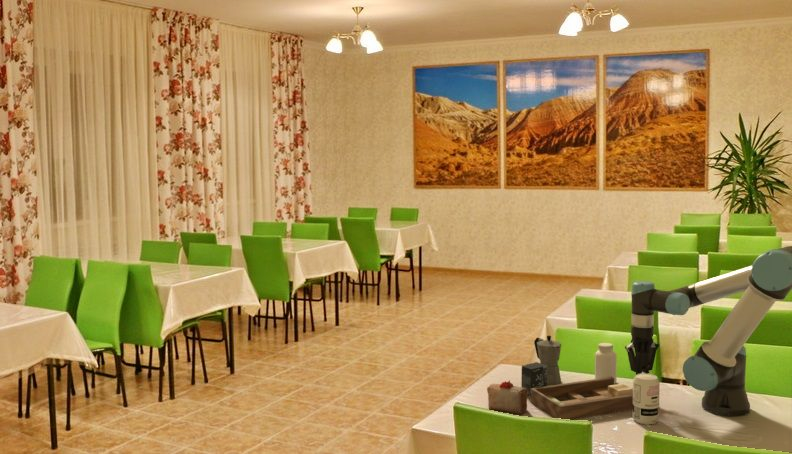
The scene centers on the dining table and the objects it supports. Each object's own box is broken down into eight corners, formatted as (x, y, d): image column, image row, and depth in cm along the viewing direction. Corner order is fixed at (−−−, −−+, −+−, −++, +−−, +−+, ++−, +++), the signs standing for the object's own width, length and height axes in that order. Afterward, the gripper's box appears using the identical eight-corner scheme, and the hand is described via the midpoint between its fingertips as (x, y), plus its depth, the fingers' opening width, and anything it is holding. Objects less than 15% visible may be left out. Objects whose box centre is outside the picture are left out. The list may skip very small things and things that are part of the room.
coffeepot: (569, 383, 282) (569, 337, 280) (549, 387, 278) (549, 341, 276) (544, 373, 295) (544, 329, 293) (525, 376, 291) (525, 332, 289)
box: (531, 397, 268) (531, 369, 267) (521, 393, 272) (520, 365, 271) (547, 392, 272) (547, 365, 271) (536, 388, 277) (536, 361, 276)
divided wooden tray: (646, 407, 255) (646, 393, 254) (560, 421, 244) (560, 406, 243) (611, 389, 274) (611, 376, 273) (530, 402, 263) (530, 388, 262)
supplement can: (638, 414, 249) (638, 371, 247) (662, 419, 243) (663, 375, 242) (628, 421, 242) (629, 377, 241) (653, 427, 237) (654, 382, 236)
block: (632, 399, 257) (632, 388, 257) (618, 402, 255) (618, 390, 255) (622, 394, 263) (622, 383, 262) (607, 396, 261) (607, 385, 260)
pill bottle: (590, 380, 285) (591, 342, 283) (608, 378, 287) (609, 340, 286) (602, 386, 277) (602, 348, 276) (620, 384, 280) (621, 345, 278)
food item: (484, 409, 256) (484, 382, 255) (493, 402, 263) (493, 376, 262) (521, 416, 249) (521, 388, 248) (529, 409, 256) (529, 381, 255)
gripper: (650, 321, 265) (649, 384, 267) (620, 324, 260) (619, 389, 263) (664, 325, 258) (663, 391, 260) (633, 329, 253) (632, 395, 256)
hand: (641, 390), depth 262 cm, fingers closed
